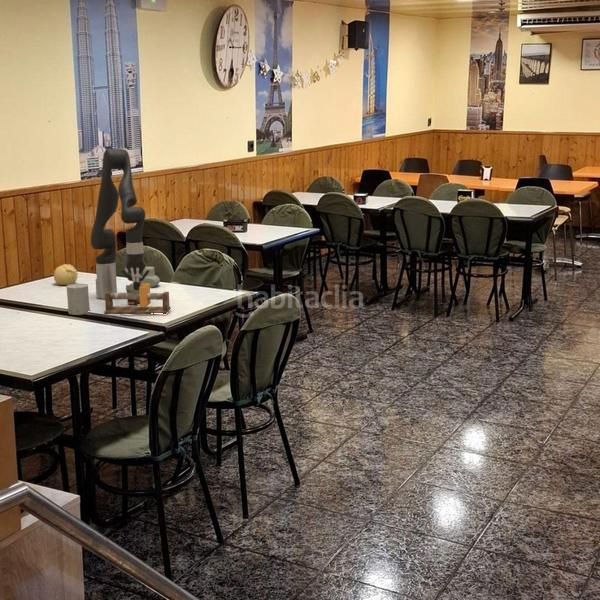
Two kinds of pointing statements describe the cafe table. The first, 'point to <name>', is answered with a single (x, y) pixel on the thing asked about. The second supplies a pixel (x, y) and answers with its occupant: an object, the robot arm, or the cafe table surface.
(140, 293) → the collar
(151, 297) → the rod stand
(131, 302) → the food container
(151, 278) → the air freshener
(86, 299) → the gray cylinder
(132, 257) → the robot arm
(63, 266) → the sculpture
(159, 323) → the cafe table surface
